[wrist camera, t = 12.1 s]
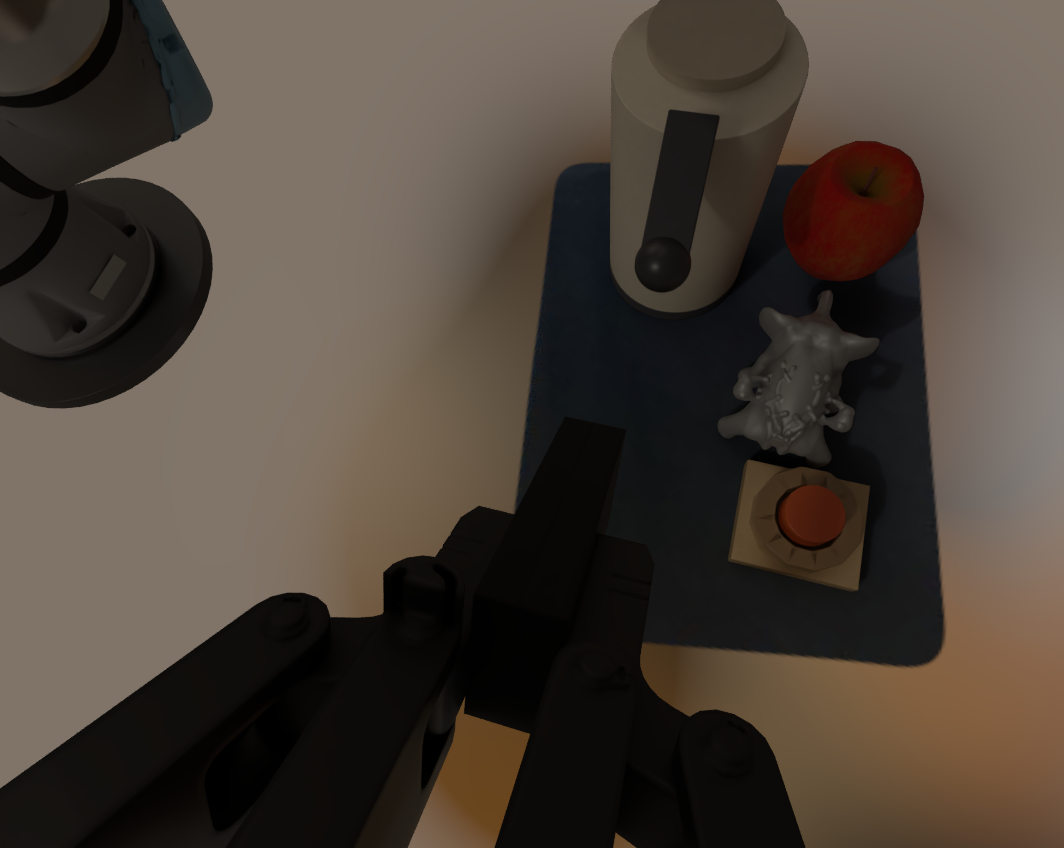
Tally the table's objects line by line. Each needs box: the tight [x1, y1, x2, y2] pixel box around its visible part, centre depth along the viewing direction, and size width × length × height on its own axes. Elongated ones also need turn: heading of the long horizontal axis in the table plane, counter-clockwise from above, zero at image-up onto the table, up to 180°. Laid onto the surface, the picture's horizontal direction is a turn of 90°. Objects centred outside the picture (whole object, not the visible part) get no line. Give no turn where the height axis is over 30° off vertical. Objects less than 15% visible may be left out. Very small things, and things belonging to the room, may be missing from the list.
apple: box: [783, 141, 924, 282], centre depth 45 cm, size 9×8×11 cm
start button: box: [778, 485, 846, 546], centre depth 41 cm, size 4×4×2 cm
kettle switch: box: [635, 109, 720, 293], centre depth 32 cm, size 3×8×3 cm
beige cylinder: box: [610, 0, 809, 320], centre depth 42 cm, size 10×10×20 cm
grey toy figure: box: [718, 290, 879, 468], centre depth 44 cm, size 9×12×8 cm
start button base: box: [728, 460, 870, 591], centre depth 43 cm, size 8×7×3 cm
